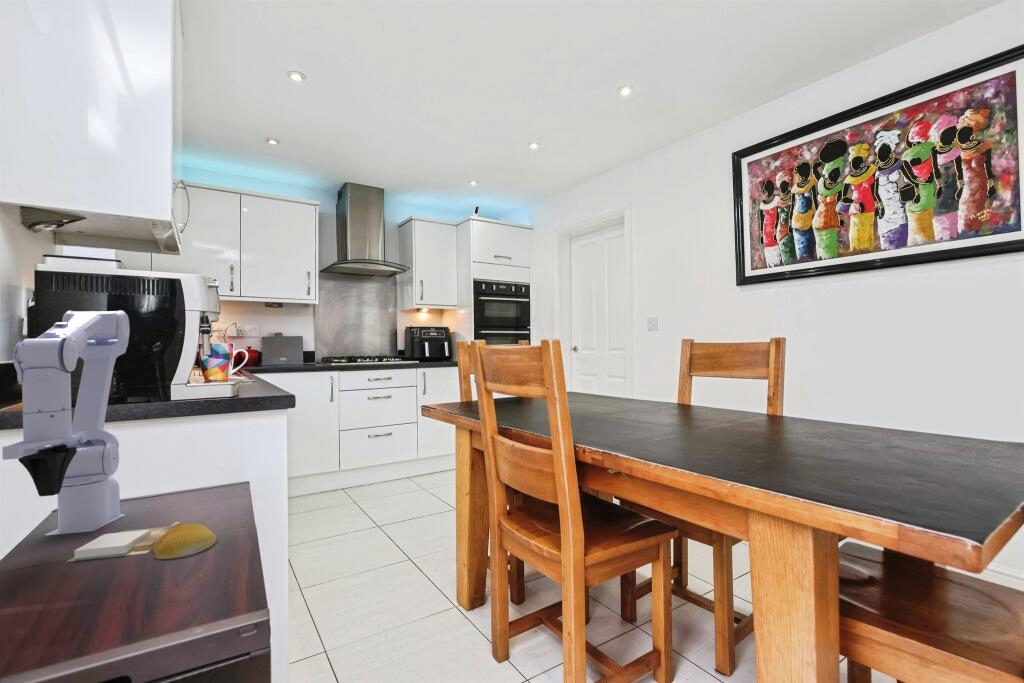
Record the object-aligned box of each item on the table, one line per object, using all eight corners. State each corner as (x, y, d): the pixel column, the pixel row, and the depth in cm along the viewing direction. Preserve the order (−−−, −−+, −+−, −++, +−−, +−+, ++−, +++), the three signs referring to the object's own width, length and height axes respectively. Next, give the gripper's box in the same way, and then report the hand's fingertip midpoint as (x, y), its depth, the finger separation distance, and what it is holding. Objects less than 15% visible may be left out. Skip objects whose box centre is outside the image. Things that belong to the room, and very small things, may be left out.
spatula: (170, 527, 87) (170, 522, 87) (185, 525, 88) (185, 521, 88) (133, 551, 76) (133, 546, 76) (151, 549, 77) (151, 544, 77)
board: (120, 534, 86) (120, 531, 86) (187, 528, 88) (187, 524, 88) (66, 565, 74) (66, 561, 74) (146, 556, 75) (146, 553, 75)
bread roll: (157, 569, 71) (156, 542, 71) (152, 552, 78) (151, 527, 78) (221, 552, 77) (220, 526, 77) (211, 537, 83) (210, 514, 83)
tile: (104, 534, 81) (74, 550, 74) (150, 529, 82) (125, 545, 75) (104, 542, 81) (74, 560, 74) (150, 538, 82) (125, 555, 75)
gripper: (40, 414, 72) (42, 506, 71) (105, 405, 86) (107, 481, 86) (-15, 418, 70) (-14, 510, 70) (60, 407, 85) (61, 484, 84)
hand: (49, 494), depth 78 cm, fingers closed
